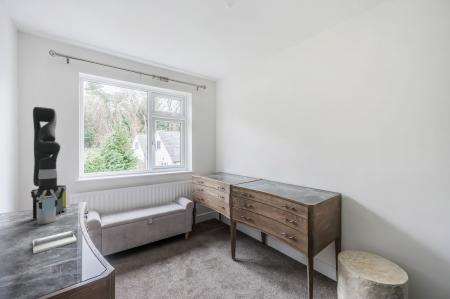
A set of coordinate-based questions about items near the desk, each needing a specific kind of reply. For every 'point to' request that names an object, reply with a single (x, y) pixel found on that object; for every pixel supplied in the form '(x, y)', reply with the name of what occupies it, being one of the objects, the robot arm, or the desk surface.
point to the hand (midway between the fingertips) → (48, 207)
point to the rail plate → (53, 241)
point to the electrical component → (61, 202)
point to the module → (48, 203)
